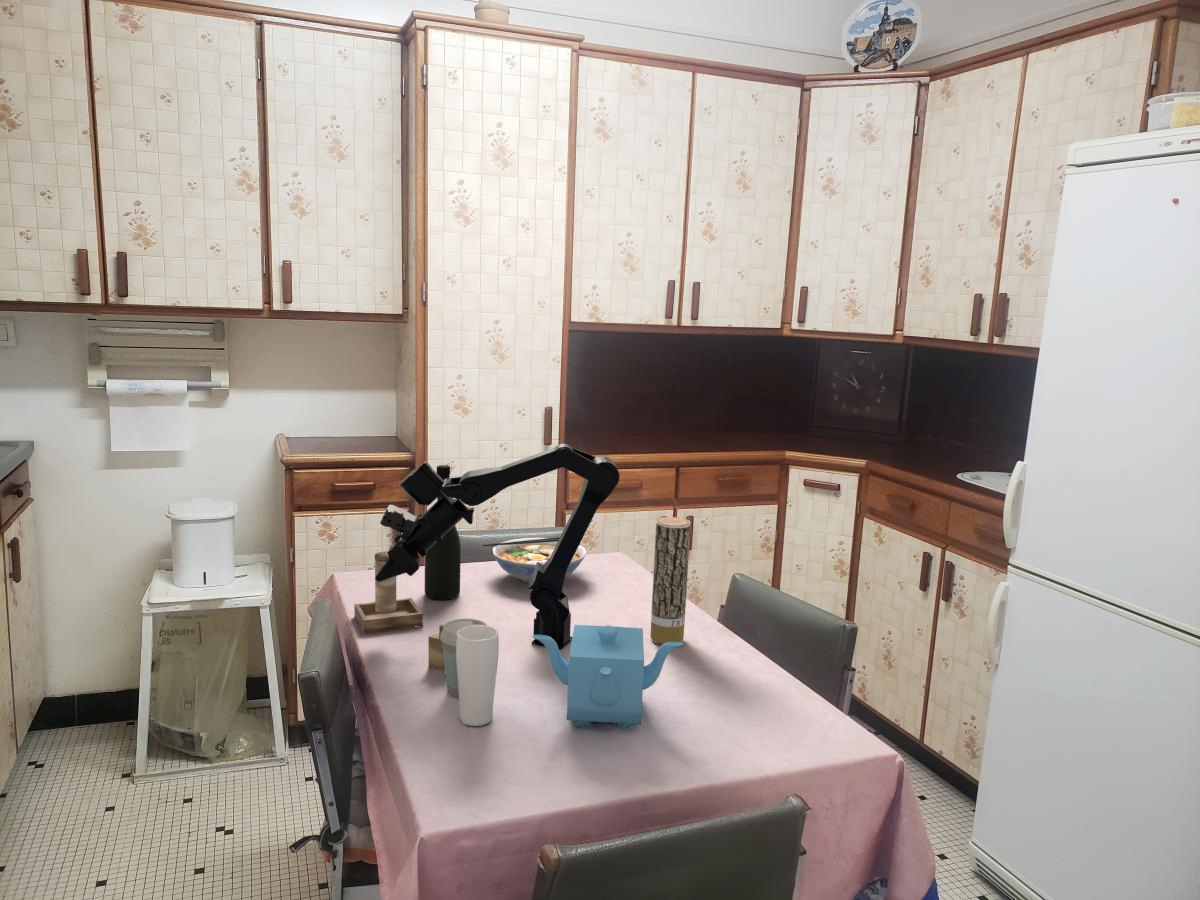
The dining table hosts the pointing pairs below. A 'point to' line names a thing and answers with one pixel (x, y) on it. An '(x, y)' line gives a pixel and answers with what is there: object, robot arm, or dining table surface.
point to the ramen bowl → (530, 555)
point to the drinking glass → (476, 672)
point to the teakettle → (606, 673)
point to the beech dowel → (384, 587)
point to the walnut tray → (388, 616)
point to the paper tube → (670, 579)
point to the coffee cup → (453, 651)
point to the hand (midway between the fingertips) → (378, 576)
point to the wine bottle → (443, 560)
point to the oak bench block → (436, 651)
